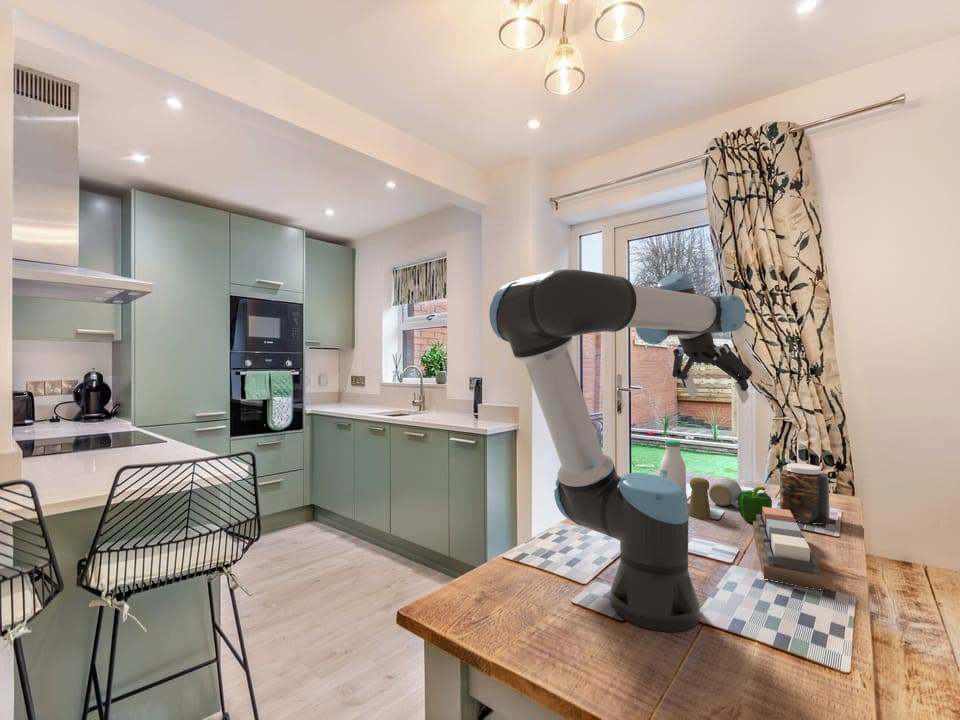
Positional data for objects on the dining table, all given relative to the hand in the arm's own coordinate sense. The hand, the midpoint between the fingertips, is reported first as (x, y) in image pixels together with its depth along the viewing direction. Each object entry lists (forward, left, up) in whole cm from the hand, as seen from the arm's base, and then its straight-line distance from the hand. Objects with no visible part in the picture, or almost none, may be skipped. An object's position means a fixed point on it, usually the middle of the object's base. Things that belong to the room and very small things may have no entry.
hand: (719, 397), depth 121 cm
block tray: (-11, -13, -36) cm, 40 cm away
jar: (+24, -22, -36) cm, 48 cm away
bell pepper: (+14, -9, -36) cm, 39 cm away
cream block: (-22, -13, -31) cm, 40 cm away
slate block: (-11, -13, -31) cm, 36 cm away
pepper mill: (+12, +5, -36) cm, 38 cm away
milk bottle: (+22, +13, -36) cm, 44 cm away
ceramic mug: (+28, -3, -36) cm, 46 cm away
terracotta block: (-1, -13, -31) cm, 34 cm away
